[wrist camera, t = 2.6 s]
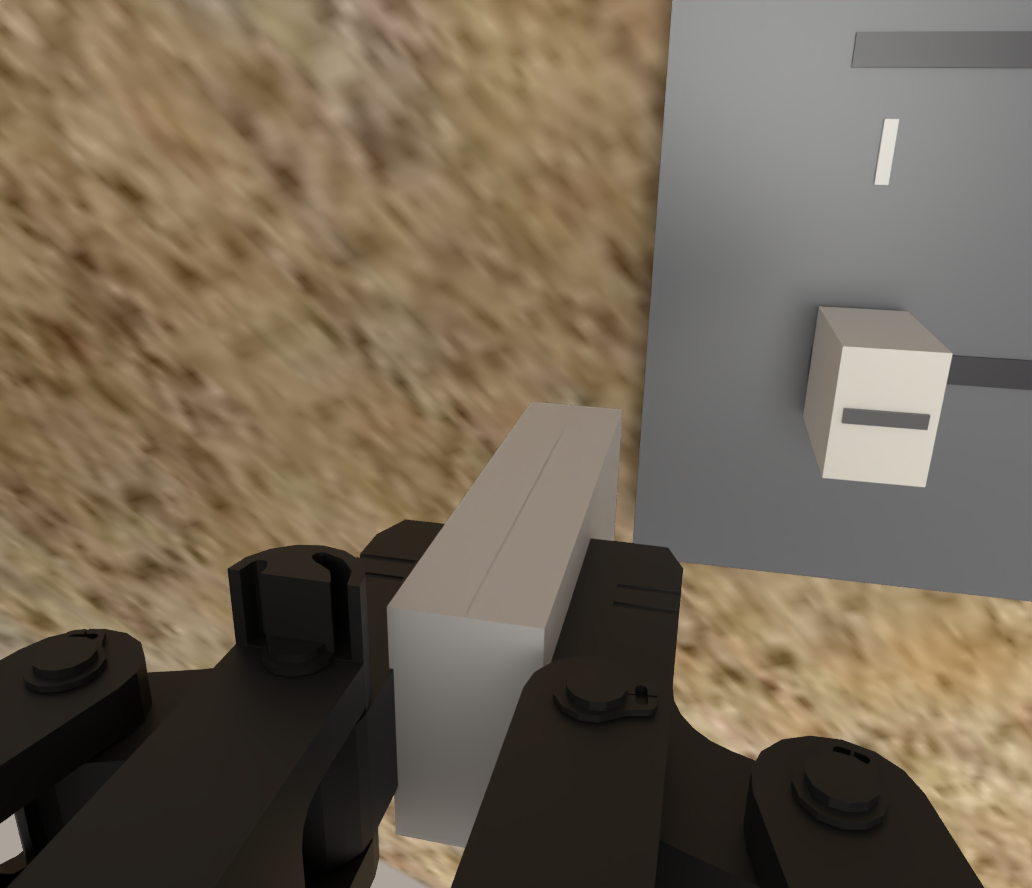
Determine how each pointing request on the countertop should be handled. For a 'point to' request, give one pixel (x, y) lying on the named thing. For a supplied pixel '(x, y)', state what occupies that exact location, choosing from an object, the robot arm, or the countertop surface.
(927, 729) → the countertop surface
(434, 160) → the countertop surface
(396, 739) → the robot arm
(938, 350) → the fader cream
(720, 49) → the console
